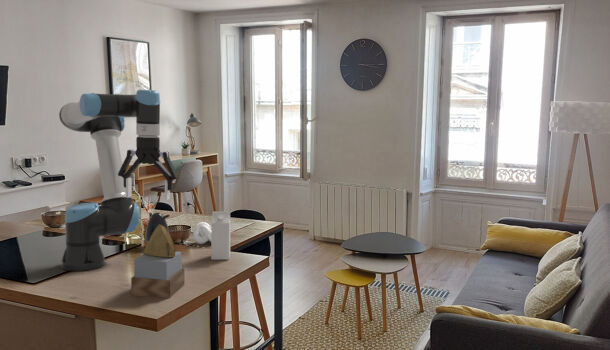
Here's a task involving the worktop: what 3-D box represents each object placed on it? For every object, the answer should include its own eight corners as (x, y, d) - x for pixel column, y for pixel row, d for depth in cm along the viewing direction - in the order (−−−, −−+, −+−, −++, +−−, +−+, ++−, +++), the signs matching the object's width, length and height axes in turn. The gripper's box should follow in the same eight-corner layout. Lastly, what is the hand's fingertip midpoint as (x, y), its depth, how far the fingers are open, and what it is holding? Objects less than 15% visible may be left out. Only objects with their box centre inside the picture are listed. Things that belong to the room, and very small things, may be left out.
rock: (184, 250, 173) (174, 239, 181) (170, 232, 168) (160, 222, 177) (158, 272, 170) (148, 260, 178) (142, 254, 165) (133, 243, 173)
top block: (134, 277, 170) (134, 259, 169) (151, 266, 181) (151, 249, 181) (166, 280, 168) (166, 261, 167) (181, 269, 180) (181, 252, 179)
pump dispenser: (166, 250, 224) (166, 215, 222) (142, 249, 224) (141, 214, 222) (172, 244, 234) (172, 210, 232) (149, 243, 234) (149, 209, 232)
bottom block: (131, 295, 170) (131, 277, 169) (148, 283, 183) (148, 266, 182) (170, 298, 168) (170, 280, 168) (184, 285, 181) (184, 268, 180)
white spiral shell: (189, 245, 232) (189, 225, 231) (196, 239, 244) (196, 220, 243) (214, 246, 232) (215, 226, 231) (220, 239, 244) (220, 220, 243)
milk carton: (212, 255, 218) (212, 210, 216) (230, 255, 219) (230, 210, 216) (211, 259, 211) (211, 213, 209) (229, 259, 212) (229, 213, 209)
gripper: (107, 135, 175) (107, 197, 178) (180, 139, 172) (179, 202, 175) (117, 133, 182) (118, 193, 185) (187, 137, 180) (186, 198, 183)
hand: (148, 198), depth 180 cm, fingers open, 13 cm apart
